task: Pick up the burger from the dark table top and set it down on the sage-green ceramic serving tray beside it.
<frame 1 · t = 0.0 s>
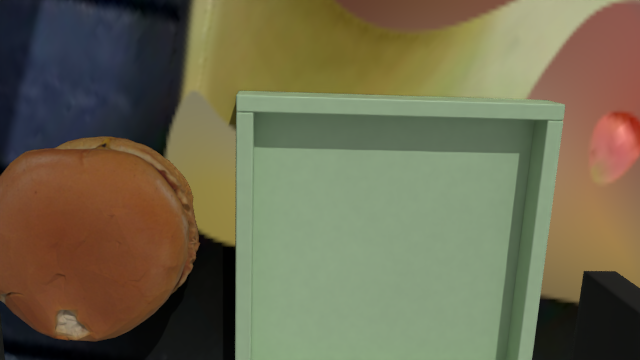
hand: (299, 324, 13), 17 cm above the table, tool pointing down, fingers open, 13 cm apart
serving tray: (386, 243, 31), on the table
burger: (105, 225, 30), on the table
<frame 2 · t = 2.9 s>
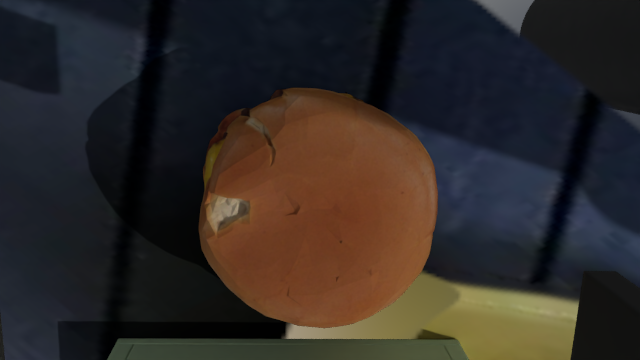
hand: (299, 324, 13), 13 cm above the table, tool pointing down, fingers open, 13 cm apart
burger: (312, 196, 26), on the table
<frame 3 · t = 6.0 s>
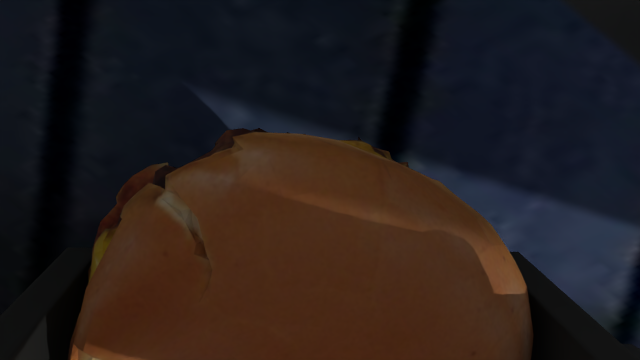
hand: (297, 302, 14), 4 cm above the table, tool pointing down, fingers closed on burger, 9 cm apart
burger: (293, 308, 15), point 3 cm above the table, touching gripper
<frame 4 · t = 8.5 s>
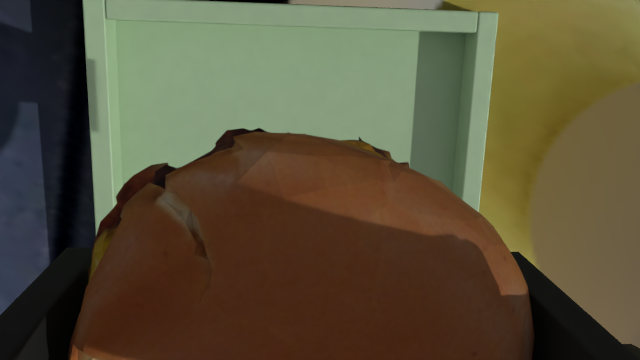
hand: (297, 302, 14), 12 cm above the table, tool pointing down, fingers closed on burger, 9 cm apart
serving tray: (290, 192, 26), on the table
burger: (293, 308, 15), point 11 cm above the table, touching gripper
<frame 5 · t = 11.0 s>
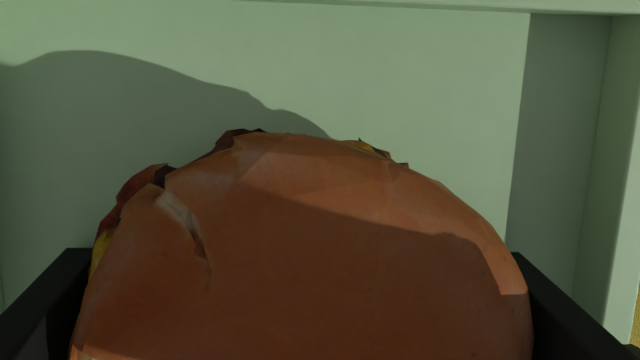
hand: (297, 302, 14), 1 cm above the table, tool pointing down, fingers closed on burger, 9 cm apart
serving tray: (297, 289, 15), on the table
burger: (293, 308, 15), resting in serving tray, touching gripper
when the fingers open (2 cm above the table, at t = 12.0 s): burger stays where it is, resting on serving tray.
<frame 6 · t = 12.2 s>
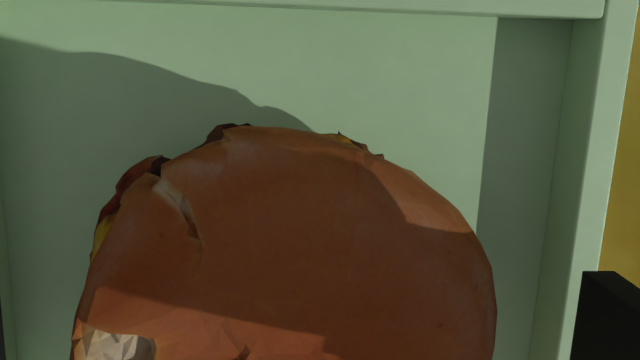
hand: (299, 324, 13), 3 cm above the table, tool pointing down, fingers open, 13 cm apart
serving tray: (284, 274, 16), on the table
burger: (280, 291, 16), resting on serving tray
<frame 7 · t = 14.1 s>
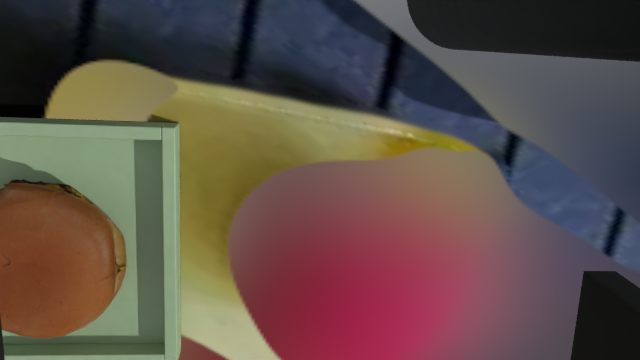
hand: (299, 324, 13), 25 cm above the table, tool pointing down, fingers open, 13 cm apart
serving tray: (56, 240, 38), on the table
burger: (52, 247, 38), resting on serving tray
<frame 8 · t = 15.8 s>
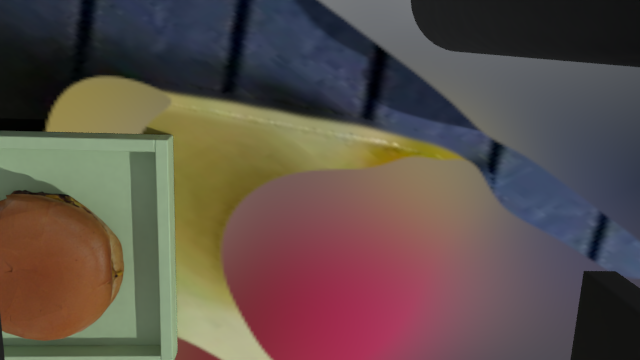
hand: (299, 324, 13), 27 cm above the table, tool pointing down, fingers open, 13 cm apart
serving tray: (57, 246, 40), on the table
burger: (54, 253, 40), resting on serving tray
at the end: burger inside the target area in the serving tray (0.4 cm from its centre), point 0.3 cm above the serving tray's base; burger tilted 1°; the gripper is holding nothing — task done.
